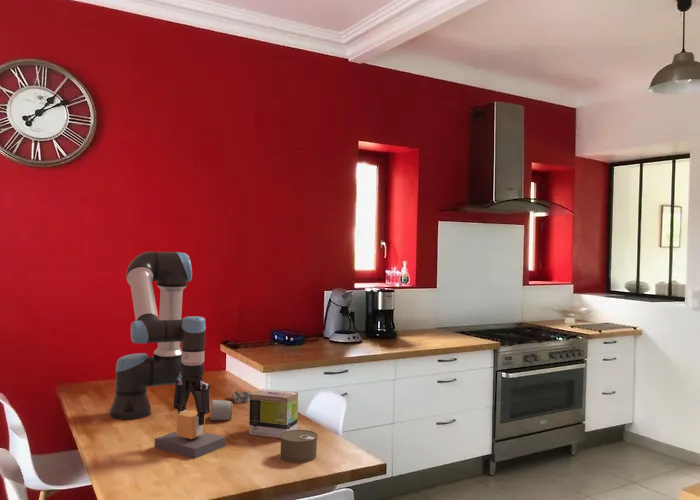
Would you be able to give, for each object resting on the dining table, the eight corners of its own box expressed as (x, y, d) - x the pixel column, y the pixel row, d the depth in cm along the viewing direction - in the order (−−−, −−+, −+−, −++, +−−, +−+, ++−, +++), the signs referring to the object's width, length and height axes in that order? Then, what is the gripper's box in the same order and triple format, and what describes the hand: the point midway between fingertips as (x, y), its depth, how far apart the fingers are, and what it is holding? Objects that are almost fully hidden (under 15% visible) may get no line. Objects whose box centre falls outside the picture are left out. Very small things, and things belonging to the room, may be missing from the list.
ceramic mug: (232, 422, 220) (232, 402, 220) (210, 422, 218) (210, 402, 218) (231, 415, 230) (232, 395, 230) (210, 415, 228) (211, 396, 228)
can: (294, 448, 193) (294, 427, 193) (324, 455, 187) (324, 433, 187) (272, 458, 182) (272, 436, 182) (303, 466, 176) (303, 443, 176)
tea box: (298, 432, 210) (299, 391, 210) (286, 440, 200) (287, 397, 200) (261, 427, 214) (262, 387, 215) (248, 434, 205) (249, 393, 205)
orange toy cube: (176, 435, 189) (177, 414, 189) (190, 430, 195) (191, 410, 195) (190, 439, 186) (191, 417, 186) (204, 433, 192) (205, 412, 192)
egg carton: (231, 398, 257) (232, 389, 257) (248, 397, 259) (248, 388, 259) (233, 404, 247) (234, 394, 247) (251, 403, 249) (251, 393, 249)
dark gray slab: (154, 447, 189) (154, 438, 189) (186, 436, 201) (186, 428, 201) (195, 458, 180) (195, 448, 180) (225, 446, 192) (225, 437, 192)
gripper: (163, 361, 192) (161, 430, 192) (206, 368, 183) (204, 440, 183) (179, 358, 199) (177, 424, 199) (222, 365, 189) (220, 434, 189)
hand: (190, 432), depth 191 cm, fingers open, 7 cm apart
